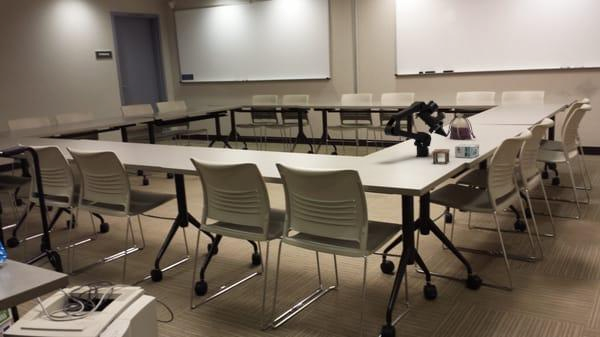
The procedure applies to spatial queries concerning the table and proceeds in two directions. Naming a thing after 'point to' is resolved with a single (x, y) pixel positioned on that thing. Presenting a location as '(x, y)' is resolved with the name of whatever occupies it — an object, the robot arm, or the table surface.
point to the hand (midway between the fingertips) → (446, 136)
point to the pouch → (460, 128)
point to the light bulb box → (467, 150)
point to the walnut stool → (440, 151)
